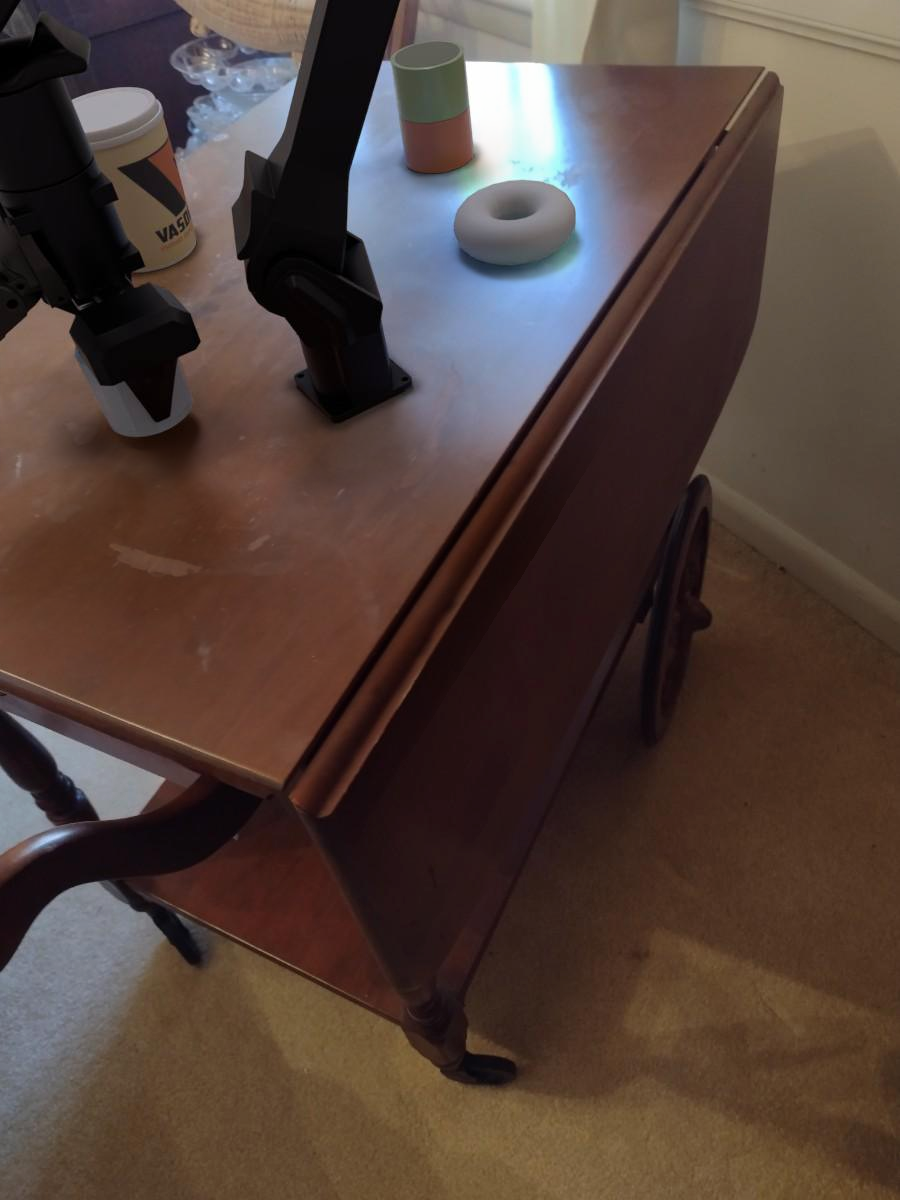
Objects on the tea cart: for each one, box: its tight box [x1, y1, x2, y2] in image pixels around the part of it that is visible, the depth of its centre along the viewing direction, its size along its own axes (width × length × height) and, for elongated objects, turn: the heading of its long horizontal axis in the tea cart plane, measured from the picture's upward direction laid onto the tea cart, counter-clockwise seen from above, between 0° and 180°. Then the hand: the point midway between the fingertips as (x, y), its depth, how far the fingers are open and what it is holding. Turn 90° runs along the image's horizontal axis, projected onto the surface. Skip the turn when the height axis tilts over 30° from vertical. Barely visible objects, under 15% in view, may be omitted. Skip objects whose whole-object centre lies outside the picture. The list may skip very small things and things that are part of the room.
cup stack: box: [389, 39, 475, 174], centre depth 84 cm, size 7×7×9 cm
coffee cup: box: [71, 86, 197, 274], centre depth 77 cm, size 9×9×12 cm
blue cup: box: [73, 346, 195, 438], centre depth 61 cm, size 6×6×6 cm
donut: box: [453, 179, 577, 266], centre depth 74 cm, size 10×4×10 cm
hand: (146, 396), depth 62 cm, fingers closed on blue cup, 6 cm apart
